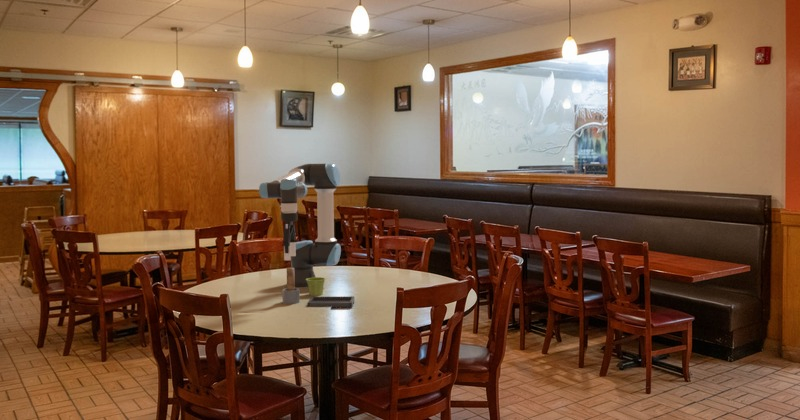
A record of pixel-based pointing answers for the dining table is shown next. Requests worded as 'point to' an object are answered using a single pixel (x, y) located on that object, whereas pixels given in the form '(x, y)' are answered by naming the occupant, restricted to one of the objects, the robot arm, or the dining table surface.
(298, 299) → the cup
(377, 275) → the dining table surface
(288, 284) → the dowel
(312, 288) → the plant pot
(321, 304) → the tray
